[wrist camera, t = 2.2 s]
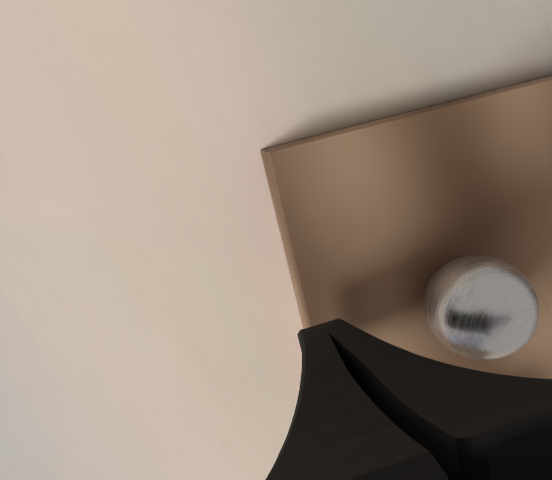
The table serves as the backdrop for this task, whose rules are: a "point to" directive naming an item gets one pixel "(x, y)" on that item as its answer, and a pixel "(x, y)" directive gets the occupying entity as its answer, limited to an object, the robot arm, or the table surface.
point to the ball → (481, 308)
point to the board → (420, 215)
